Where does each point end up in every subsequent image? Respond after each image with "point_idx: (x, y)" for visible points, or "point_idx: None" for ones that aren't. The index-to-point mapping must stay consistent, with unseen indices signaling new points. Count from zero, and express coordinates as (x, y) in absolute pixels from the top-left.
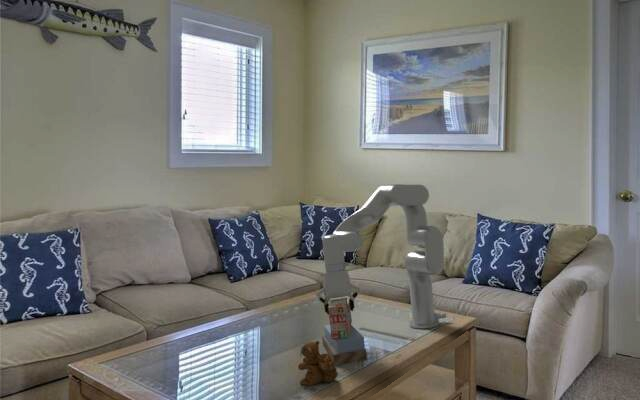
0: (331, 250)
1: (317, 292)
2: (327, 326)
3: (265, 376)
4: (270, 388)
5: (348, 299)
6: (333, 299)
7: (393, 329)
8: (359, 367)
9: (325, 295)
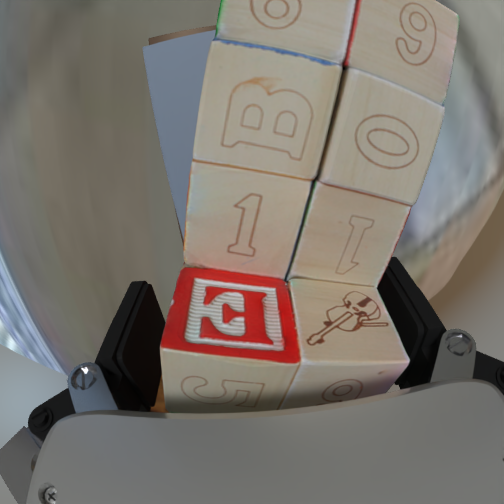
0: None
1: (10, 484)
2: (166, 72)
3: (33, 305)
4: (74, 364)
5: (453, 17)
6: (200, 389)
7: (485, 12)
8: None
9: (68, 428)
